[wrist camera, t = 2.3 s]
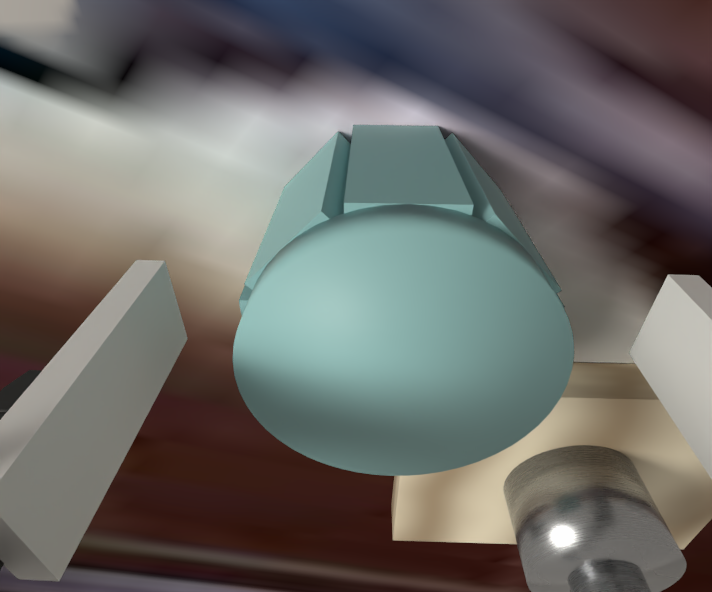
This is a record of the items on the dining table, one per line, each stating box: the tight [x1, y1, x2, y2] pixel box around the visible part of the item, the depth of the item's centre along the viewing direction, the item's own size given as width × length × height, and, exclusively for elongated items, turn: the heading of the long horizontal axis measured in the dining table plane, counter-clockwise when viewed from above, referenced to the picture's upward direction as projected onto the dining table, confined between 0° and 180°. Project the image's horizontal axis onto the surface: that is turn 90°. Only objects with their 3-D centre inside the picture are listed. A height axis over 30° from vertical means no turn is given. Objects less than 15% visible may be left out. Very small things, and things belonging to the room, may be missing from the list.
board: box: [391, 363, 712, 549], centre depth 22 cm, size 16×12×2 cm
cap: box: [233, 125, 574, 476], centre depth 13 cm, size 8×8×7 cm
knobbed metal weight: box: [503, 445, 687, 592], centre depth 18 cm, size 6×6×6 cm
